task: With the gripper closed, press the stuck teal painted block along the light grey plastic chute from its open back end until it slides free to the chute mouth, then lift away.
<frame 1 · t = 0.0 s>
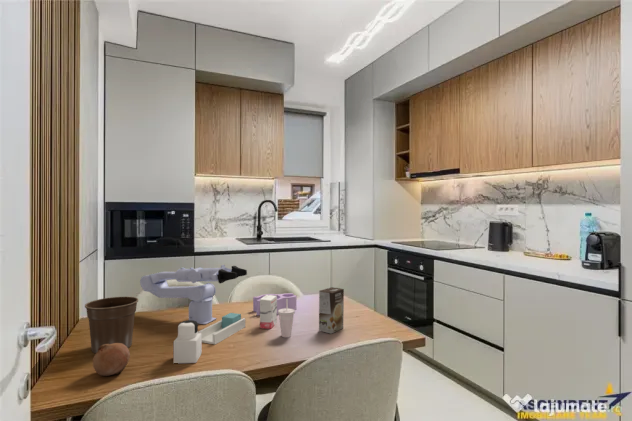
hand: (241, 273, 144), 22 cm above the table, tool horizontal, fingers open, 7 cm apart
chute: (222, 333, 136), on the table
brown rounded lump: (112, 374, 103), on the table
ink box: (268, 326, 146), on the table
medicine bottle: (187, 359, 113), on the table
coffee box: (331, 329, 141), on the table
smoothie: (286, 336, 134), on the table
block: (231, 321, 141), point 3 cm above the table, slide at 0.0 cm
clip: (275, 311, 167), on the table
plant pot: (112, 348, 122), on the table
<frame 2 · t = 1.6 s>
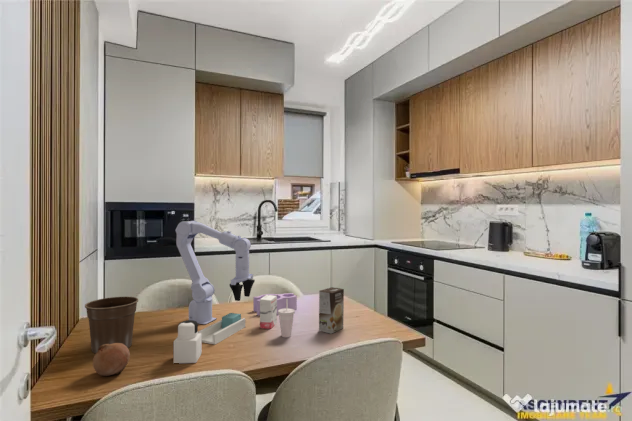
hand: (242, 298, 149), 10 cm above the table, tool pointing down, fingers open, 7 cm apart
nothing on the table moved.
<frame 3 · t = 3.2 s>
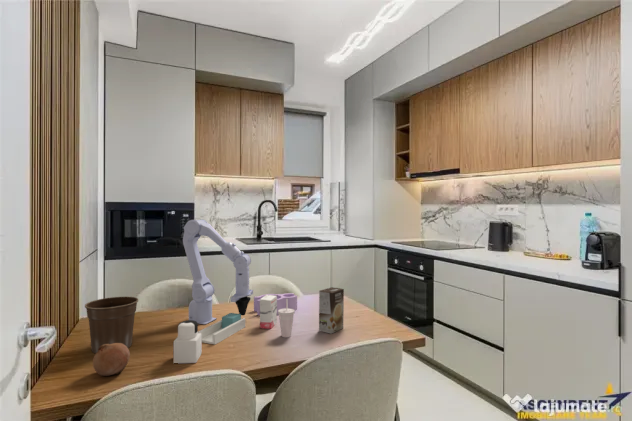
hand: (242, 314, 149), 3 cm above the table, tool pointing down, fingers closed
nothing on the table moved.
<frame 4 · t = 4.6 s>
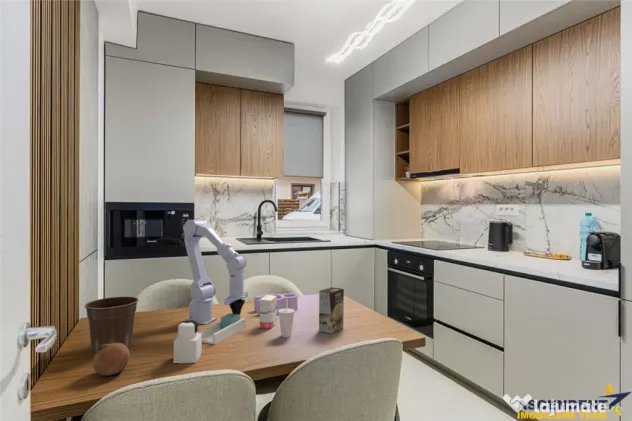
hand: (236, 317, 145), 3 cm above the table, tool pointing down, fingers closed
block: (230, 321, 141), point 3 cm above the table, slide at 0.6 cm, touching gripper
everything else where it was.
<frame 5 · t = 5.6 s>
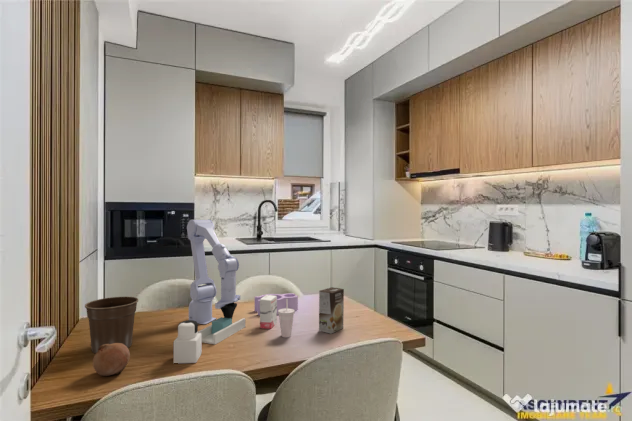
hand: (228, 322, 139), 3 cm above the table, tool pointing down, fingers closed
block: (222, 326, 135), point 3 cm above the table, slide at 6.4 cm, touching gripper
everything else where it was.
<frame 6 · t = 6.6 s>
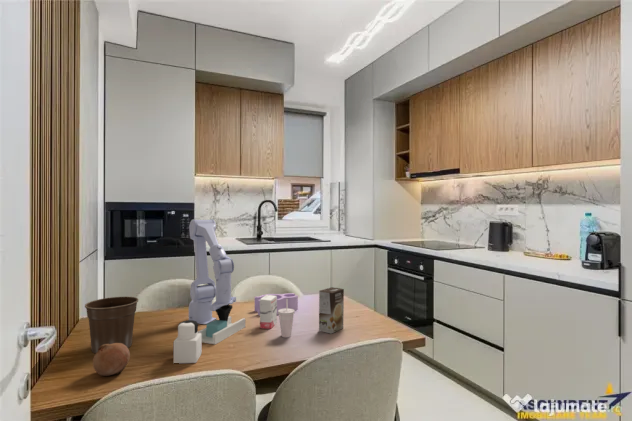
hand: (223, 324, 136), 3 cm above the table, tool pointing down, fingers closed
block: (216, 328, 132), point 3 cm above the table, slide at 9.7 cm, touching gripper
everything else where it was.
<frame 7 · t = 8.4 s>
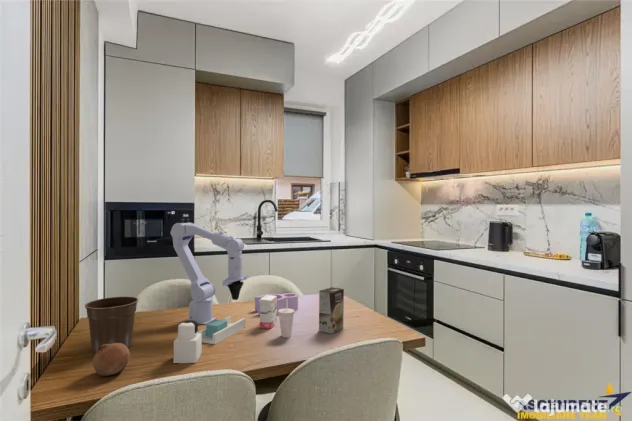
hand: (235, 299, 147), 10 cm above the table, tool pointing down, fingers closed
block: (216, 328, 132), point 3 cm above the table, slide at 9.7 cm
everything else where it was.
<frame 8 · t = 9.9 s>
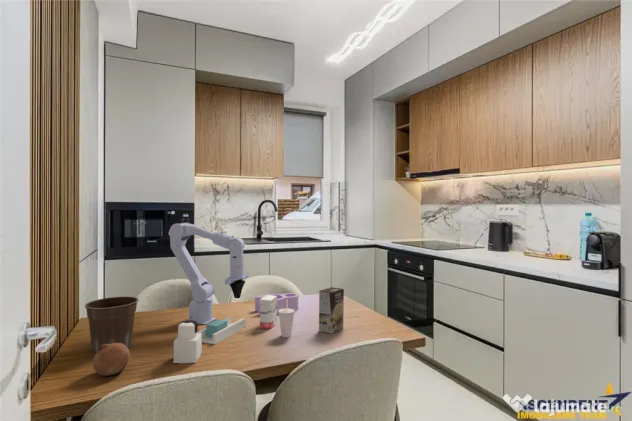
hand: (237, 297, 150), 10 cm above the table, tool pointing down, fingers closed
nothing on the table moved.
at the end: block slide at 9.7 cm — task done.
